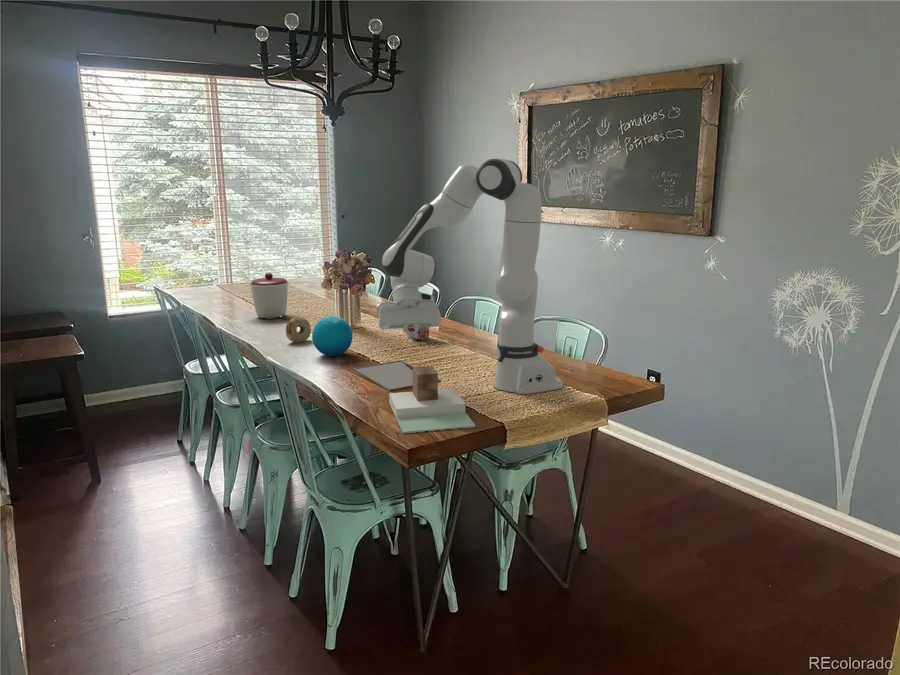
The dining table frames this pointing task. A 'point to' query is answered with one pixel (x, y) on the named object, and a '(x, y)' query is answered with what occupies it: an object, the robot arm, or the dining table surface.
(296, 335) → the stone disc
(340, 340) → the decorative orb
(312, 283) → the dining table surface
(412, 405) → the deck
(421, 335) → the mug
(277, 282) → the canister
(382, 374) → the picture frame
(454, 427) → the mat
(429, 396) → the walnut block
